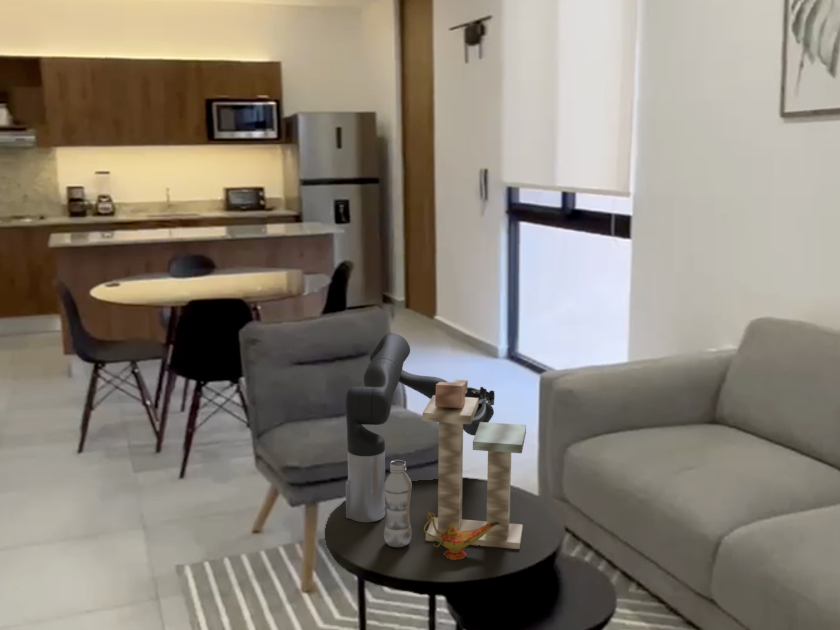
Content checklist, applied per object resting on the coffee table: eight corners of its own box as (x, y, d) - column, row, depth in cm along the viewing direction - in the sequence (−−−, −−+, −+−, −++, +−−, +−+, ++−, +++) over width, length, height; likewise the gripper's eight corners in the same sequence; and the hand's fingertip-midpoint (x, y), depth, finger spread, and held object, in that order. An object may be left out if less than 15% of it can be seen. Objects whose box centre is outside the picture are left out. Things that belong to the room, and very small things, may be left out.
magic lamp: (504, 556, 193) (505, 511, 190) (426, 564, 189) (427, 518, 187) (494, 542, 199) (495, 498, 197) (420, 550, 195) (420, 505, 193)
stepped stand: (421, 544, 198) (422, 412, 192) (432, 518, 212) (433, 395, 206) (518, 553, 194) (522, 419, 188) (523, 526, 208) (526, 400, 201)
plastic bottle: (379, 548, 196) (378, 466, 193) (391, 535, 203) (391, 456, 199) (404, 553, 194) (405, 470, 190) (416, 540, 200) (416, 460, 196)
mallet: (435, 406, 193) (435, 384, 193) (449, 395, 215) (450, 375, 215) (461, 408, 192) (462, 386, 192) (473, 396, 214) (473, 376, 214)
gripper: (496, 419, 231) (491, 405, 216) (444, 416, 234) (436, 402, 218) (498, 392, 233) (493, 376, 218) (446, 389, 236) (438, 374, 221)
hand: (464, 389), depth 218 cm, fingers open, 8 cm apart
